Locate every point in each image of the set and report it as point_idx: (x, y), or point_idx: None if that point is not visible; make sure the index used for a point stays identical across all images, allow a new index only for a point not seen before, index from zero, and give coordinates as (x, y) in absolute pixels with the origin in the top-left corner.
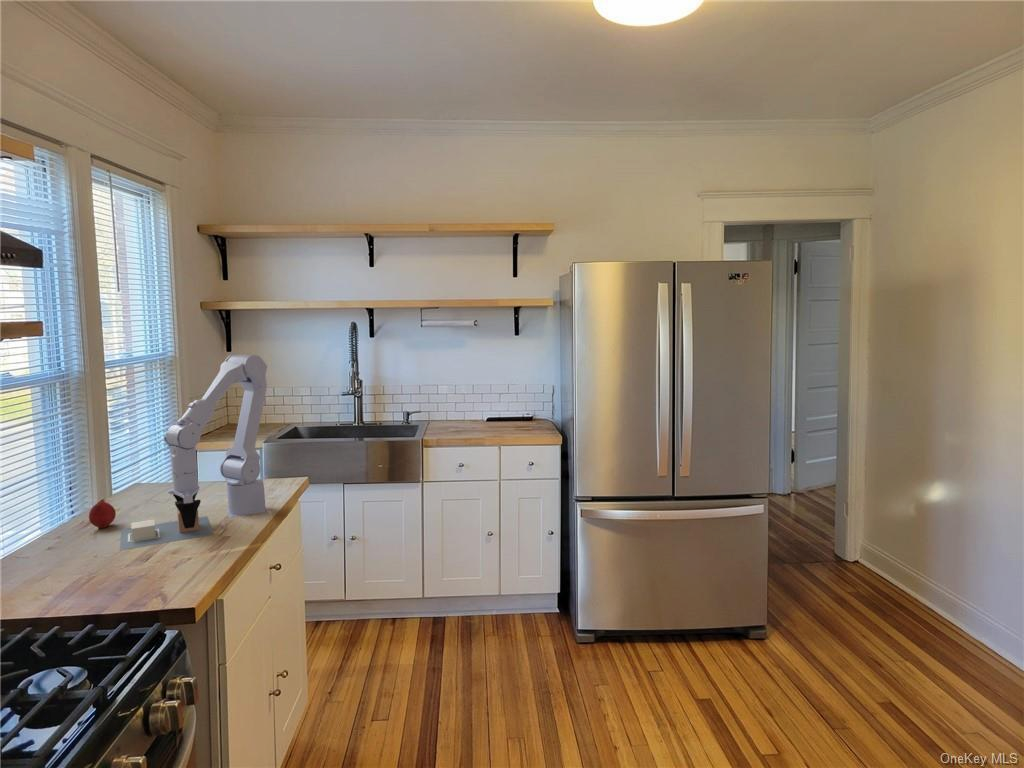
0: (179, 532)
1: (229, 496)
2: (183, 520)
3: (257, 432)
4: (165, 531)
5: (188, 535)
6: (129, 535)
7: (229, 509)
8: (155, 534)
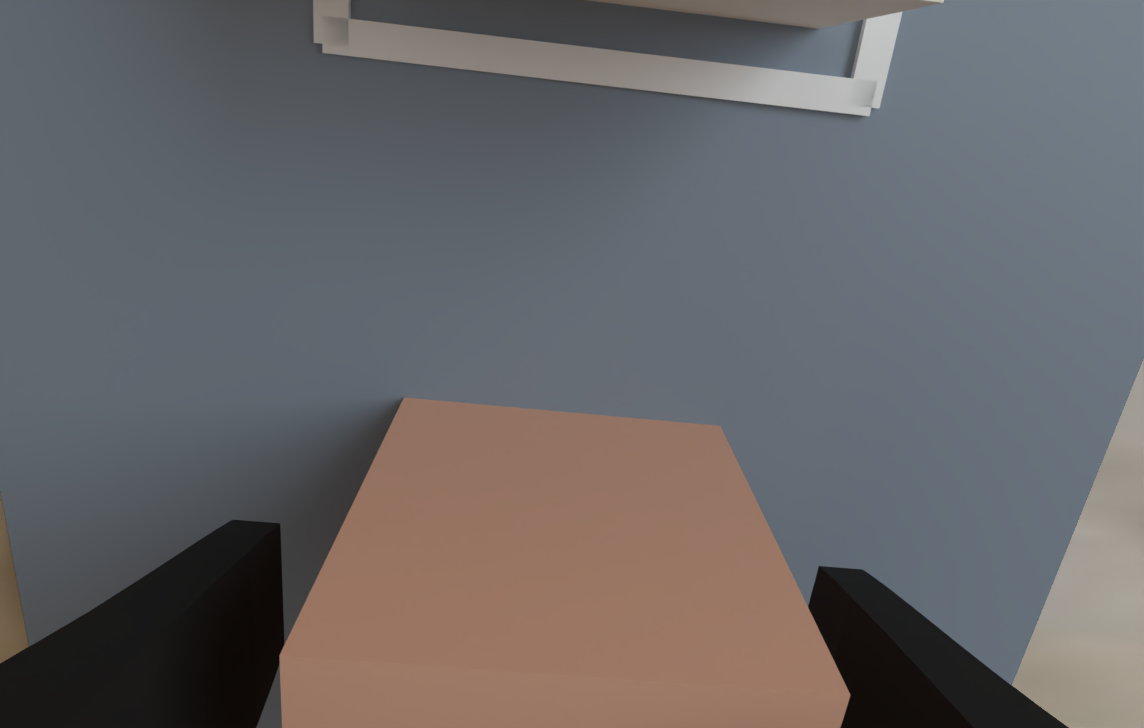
0: (405, 399)
1: None
2: (94, 622)
3: None
4: (634, 202)
5: (167, 491)
6: None
7: None
8: None
